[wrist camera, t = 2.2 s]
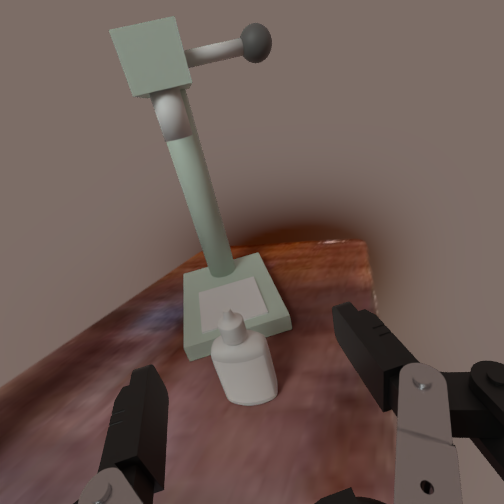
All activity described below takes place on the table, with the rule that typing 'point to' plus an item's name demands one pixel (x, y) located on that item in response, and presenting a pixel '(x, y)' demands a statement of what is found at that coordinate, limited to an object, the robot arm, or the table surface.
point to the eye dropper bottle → (243, 362)
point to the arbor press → (201, 178)
